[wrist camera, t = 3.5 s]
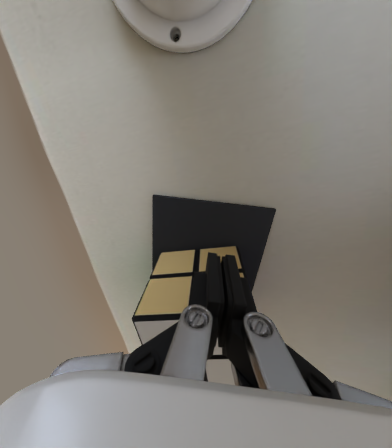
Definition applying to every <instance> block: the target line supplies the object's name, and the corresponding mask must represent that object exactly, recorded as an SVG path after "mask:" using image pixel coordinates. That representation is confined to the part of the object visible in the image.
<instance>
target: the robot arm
mask: <svg viewBox="0 0 392 448" xmlns="http://www.w3.org/2000/svg"><path fill="white" fill-rule="evenodd" d="M251 1H252V0H113V2H114V4H115V6H116V7H117V9H118V11H119V12H120V13H121V15H122V16H123V18H124V19H125V20H126V22H127V23H128V24H129V25H130V26H131V27H132V28H133V29H134V31H135V32H136V33H137V34H138V35H139V36H141V37H142V38H143V39H145V40H146V41H148V42H149V43H150V44H152V45H154V46H156V47H158V48H161V49H163V50H166V51H171V52H177V53H186V52H195V51H198V50H201V49H204V48H207V47H209V46H211V45H212V44H214V43H215V42H217V41H219V40H220V39H222V38H223V37H224V36H225V35H226V34H227V33H228V32H229V31H230V30H232V29H233V28H234V27H235V25H236V24H237V23H238V21H239V20H240V19H241V17H242V16H243V15H244V13H245V12H246V10H247V9H248V7H249V5H250V3H251ZM175 37H179V38H180V39H179V40H178V41H176V42H174V39H175ZM217 338H218V347H220V348H222V355H224V356H226V357H227V358H228V359H229V361H230V362H231V369H232V374H233V378H234V382H235V385H228V384H221V383H214V382H206V381H204V376H205V369H206V362H207V360H208V359H209V358H210V357H211V356H212V355H213V352H214V348H215V346H216V342H217ZM0 448H392V402H391V401H389V400H387V399H384V398H381V397H379V396H376V395H373V394H371V393H368V392H365V391H362V390H360V389H357V388H354V387H351V386H349V385H346V384H343V383H341V382H338V381H334V382H333V383H332V382H331V381H330V380H329V379H328V378H327V377H326V376H325V375H324V374H323V373H321V372H320V371H319V370H318V369H316V368H315V367H314V366H313V365H311V364H310V363H309V362H308V361H306V360H305V359H304V358H303V357H301V356H300V355H299V354H298V353H296V352H295V351H294V350H293V349H292V348H290V347H289V346H288V345H287V344H285V343H284V341H283V339H282V337H281V335H280V334H279V332H278V330H277V328H276V326H275V324H274V323H273V322H272V320H271V319H270V318H268V317H267V316H266V315H264V314H262V313H259V312H257V310H256V307H255V303H254V300H253V296H252V293H251V290H250V286H249V283H248V280H247V278H243V277H240V274H239V270H238V266H237V262H236V258H235V255H227V254H226V255H225V256H222V260H220V256H217V253H211V252H208V256H207V263H206V270H205V273H203V272H195V271H194V278H193V286H192V295H191V303H190V305H189V306H187V307H186V308H185V309H184V310H183V311H182V313H181V316H180V319H179V321H178V322H177V323H175V324H174V325H172V326H171V327H169V328H168V329H166V330H164V331H163V332H161V333H160V334H158V335H157V336H155V337H154V338H152V339H151V340H149V341H148V342H146V343H145V344H143V345H142V346H140V347H139V348H137V349H136V350H134V351H133V352H132V353H131V354H124V355H123V352H118V353H111V354H110V353H109V354H100V355H92V356H83V357H75V358H71V359H68V360H66V361H65V362H63V363H61V364H60V365H59V366H58V367H57V368H56V369H55V370H54V371H53V373H52V374H51V375H50V377H49V378H46V379H43V380H41V381H39V382H36V383H35V384H32V385H30V386H28V387H26V388H24V389H22V390H20V391H19V392H17V393H16V394H14V395H13V396H11V397H10V398H9V399H8V400H6V401H5V402H4V403H3V404H1V406H0Z"/></svg>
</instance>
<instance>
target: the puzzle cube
mask: <svg viewBox="0 0 392 448" xmlns="http://www.w3.org/2000/svg"><path fill="white" fill-rule="evenodd" d="M208 252H211V253H217V256H220V260H222V256H225V255H226V254H227V255H235V258H236V262H237V266H238V270H239V274H240V277H243V278H247V275H246V274H245V268H244V265H243V262H242V258H241V255H240V252H239V248H238V247H236V246H230V247H219V248H208V249H200V250H199V251H196V250H186V251H175V252H164V253H161V254H160V255H159V257H158V260H157V262H156V264H155V267H154V269H153V271H152V274H151V276H150V280H149V281H148V283H147V285H146V288H145V290H144V292H143V294H142V297H141V299H140V301H139V303H138V306H137V308H136V310H135V312H134V315H133V317H132V321H133V323H134V326H135V328H136V331H137V333H138V336H139V339H140V341H141V344H142V345H143V344H145V343H146V342H148V341H149V340H151V339H152V338H154V337H155V336H157V335H158V334H160V333H161V332H163V331H164V330H166V329H168V328H169V327H171V326H172V325H174V324H175V323H177V322H178V321H179V319H180V316H181V313H182V311H183V310H184V309H185V308H186V307H187V306H189V305H190V303H191V295H192V286H193V278H194V271H195V272H203V273H205V270H206V263H207V256H208ZM247 280H248V279H247ZM248 283H249V282H248ZM250 290H251V289H250ZM251 293H252V292H251ZM253 300H254V299H253ZM255 307H256V306H255ZM204 381H206V382H214V383H221V384H228V385H235V382H234V378H233V374H232V369H231V362H230V361H229V359H228V358H227V357H226V356H224V355H222V348H220V347H218V338H217V342H216V346H215V348H214V352H213V355H212V356H211V357H210V358H209V359H208V360H207V362H206V369H205V376H204Z"/></svg>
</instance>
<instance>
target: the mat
mask: <svg viewBox="0 0 392 448" xmlns="http://www.w3.org/2000/svg"><path fill="white" fill-rule="evenodd" d="M275 212H276V209H274V208H265V207H256V206H247V205H239V204H230V203H221V202H212V201H204V200H195V199H186V198H178V197H169V196H160V195H153V269H154V267H155V264H156V262H157V260H158V257H159V255H160V254H161V253H164V252H175V251H186V250H196V251H199V250H200V249H208V248H219V247H230V246H236V247H238V248H239V252H240V255H241V258H242V262H243V265H244V268H245V274H246V275H247V279H248V282H249V286H250V289H251V292H252V289H253V286H254V282H255V279H256V276H257V272H258V269H259V265H260V262H261V259H262V255H263V252H264V249H265V245H266V242H267V239H268V235H269V232H270V228H271V225H272V222H273V218H274V215H275Z"/></svg>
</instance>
